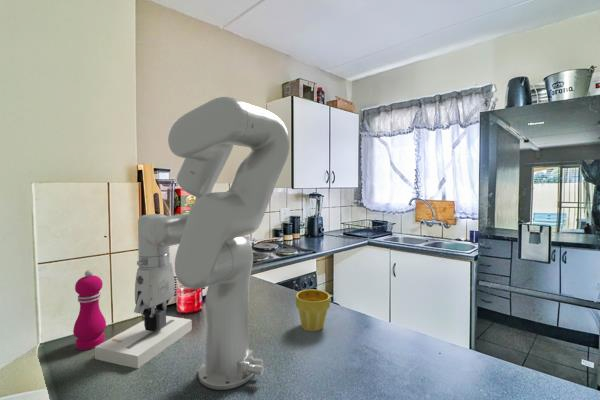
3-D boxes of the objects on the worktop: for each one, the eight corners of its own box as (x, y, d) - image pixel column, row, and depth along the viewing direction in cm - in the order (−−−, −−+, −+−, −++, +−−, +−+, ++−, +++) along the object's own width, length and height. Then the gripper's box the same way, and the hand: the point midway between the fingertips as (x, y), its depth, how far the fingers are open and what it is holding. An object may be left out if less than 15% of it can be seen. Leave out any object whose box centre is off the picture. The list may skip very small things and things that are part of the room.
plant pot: (325, 337, 86) (325, 303, 86) (290, 331, 90) (291, 298, 89) (333, 321, 96) (333, 291, 96) (301, 317, 99) (302, 287, 99)
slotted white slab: (191, 329, 90) (191, 319, 90) (138, 368, 71) (137, 355, 71) (155, 323, 94) (155, 313, 93) (95, 359, 74) (94, 346, 74)
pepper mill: (90, 352, 77) (88, 275, 76) (66, 349, 79) (64, 273, 78) (112, 338, 84) (111, 267, 83) (90, 335, 86) (89, 265, 85)
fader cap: (166, 328, 83) (165, 310, 83) (159, 332, 81) (159, 314, 80) (151, 326, 84) (150, 308, 84) (144, 330, 82) (144, 312, 82)
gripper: (141, 269, 73) (142, 344, 74) (185, 255, 88) (186, 317, 89) (117, 266, 75) (118, 339, 76) (164, 253, 90) (165, 313, 91)
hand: (155, 327), depth 83 cm, fingers closed on fader cap, 2 cm apart
